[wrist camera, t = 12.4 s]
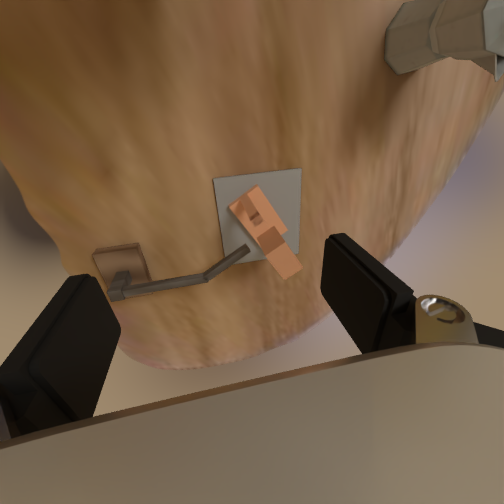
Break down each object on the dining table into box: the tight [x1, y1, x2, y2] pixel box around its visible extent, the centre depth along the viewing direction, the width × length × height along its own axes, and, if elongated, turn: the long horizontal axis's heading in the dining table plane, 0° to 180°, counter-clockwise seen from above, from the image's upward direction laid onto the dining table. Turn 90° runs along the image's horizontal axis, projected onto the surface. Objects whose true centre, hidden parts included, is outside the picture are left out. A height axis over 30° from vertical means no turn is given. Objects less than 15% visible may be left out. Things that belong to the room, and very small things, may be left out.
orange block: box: [229, 184, 303, 280], centre depth 37 cm, size 10×6×15 cm, turn 34°
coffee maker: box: [384, 0, 504, 82], centre depth 27 cm, size 15×9×18 cm, turn 13°
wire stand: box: [92, 243, 251, 302], centre depth 43 cm, size 10×26×8 cm, turn 94°
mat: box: [213, 168, 302, 265], centre depth 45 cm, size 17×15×1 cm
